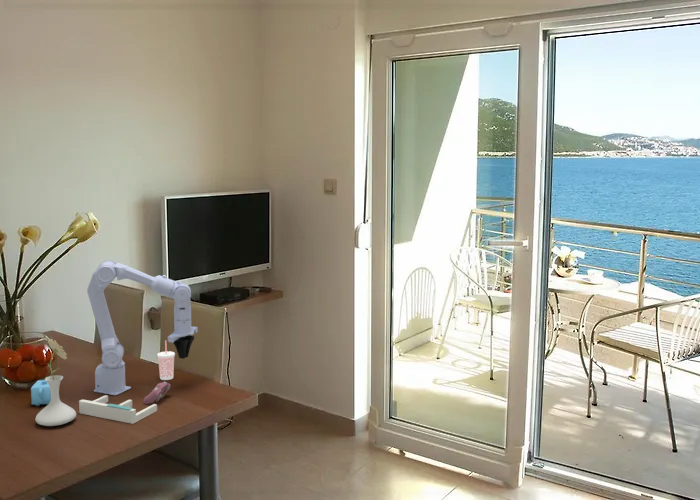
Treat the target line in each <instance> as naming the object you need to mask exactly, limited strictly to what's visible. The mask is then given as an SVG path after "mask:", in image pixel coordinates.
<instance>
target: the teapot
mask: <svg viewBox="0 0 700 500" xmlns="http://www.w3.org/2000/svg"><path fill="white" fill-rule="evenodd" d="M30 394H31V395H30V397H31V398H30V399H31V405H35V406H36V407H39V406H40V405H46V406H47V405H48V404H49V403H50V401H51V391H50V387H49V384H48V382H47V381H46V380H45V379H39V380H37V381H36V382H35V383H34V384H33V385H32V386H31V387H30Z"/></svg>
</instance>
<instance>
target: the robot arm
mask: <svg viewBox="0 0 700 500" xmlns="http://www.w3.org/2000/svg"><path fill="white" fill-rule="evenodd" d="M115 279H116V281H122V280H125V279H127V280H131V281H134V282H136V283H140V284H143V285H146V286H149V287H150V288H151V291H152V292H153V293H154V292H155V293H157V294H160V295H163V296H166V297H168V298H173V300H174V305H173V323H174V324H173V325H174V327H173V328H174V331H173V332H172V333H171V334H169V335H168V336H167V342H168V343H172V344H173V345H174V347H175V349H176V351H177V356H178V358H179V359H183V360H184V359H186V358H188V357H189V354H190V351H191V350H190V349H191V347H192V344H193V341H194V339H195V334H196V333H198V331H199V330H198V329H199V328H198V326H192V305H191V302H192V301H191V298H192V291H191V287H190V285H188V284H187V283H185V282H183V281H182V282H181V281H180V280H176V281H175V280H173V279H171V278H168V277H167V275H166V274H163V275H160V274H159V275H156V276H152V275H149V274H147V273H145V272H142V271H140V270H138V269H137V268H133V267H131V266H129V265H126V264H123V263H121V262H115V261H114V260H108V259H107V260H104V261H103V262H101V263H100V264H99V266H98V267H97V268H96V269H95V270H94V272H93V273H92V275H91V278H90V281H89V284H88V286H87V290H86V292H87V295H88V299H89V303H90V306H91V309H92V312H93V313H92V314H93V315H94V316H93V317H94V320H95V324H96V326H97V327H96V328H97V331H98V334H99V338H100V341H101V342H100V343H101V350H102V355H101V363H99V364H98V365H97V366H96V368H95V370H94V371H95V372H94V382H95V383H94V384H95V385H94V386H95V389H94V390H93V392H94V393H99V394H105V395H111V396H117V395H118V396H119V395H120V394H122V393H124V392H126V391H128V390H130V389H132V387H131V386H127V385H126V365H125V364H126V362H124V360H123V357H124V355H125V348H124V346H123V345H122V344H121V343H120V341H119V338H118V337H117V335H116V331H115V328H114V324H113V321H112V317H111V314H110V310H109V306H108V303H107V300H106V296H105V292H104V290H106V288H107V287H108V285H110V284H111V283H112V282H114V281H115Z"/></svg>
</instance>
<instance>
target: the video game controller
mask: <svg viewBox="0 0 700 500" xmlns="http://www.w3.org/2000/svg"><path fill="white" fill-rule="evenodd" d="M170 388H171V384H170V383H169V382H166V380H163V381H162V382H159V383H157V385H156V386H155V387H154V388H153V389H152V391H150V393H149V394H148V395H146V396H145V397H144V398H143V404H145V405H149V404H152V403H154V402H155V403H158V402H159V401H160V399H161V400H162V399H164V397H165V395H166V394H167V392H168V391H169V390H170Z"/></svg>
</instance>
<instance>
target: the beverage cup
mask: <svg viewBox="0 0 700 500" xmlns="http://www.w3.org/2000/svg"><path fill="white" fill-rule="evenodd" d="M167 342H168V341H167V340H166V339H165V340H164V346H165V347H164V349H165V351H161V352H158V353H156V354H157V355H156V356H157V357H156V358H157V359H158V369H159V370H158V371H159V378H160V380H162V381H169V380H172V379H174V369H175V366H174V365H175V356H176V353H175V352H174V351H170V350H169V351H168V349H167V345H168V344H167Z"/></svg>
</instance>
